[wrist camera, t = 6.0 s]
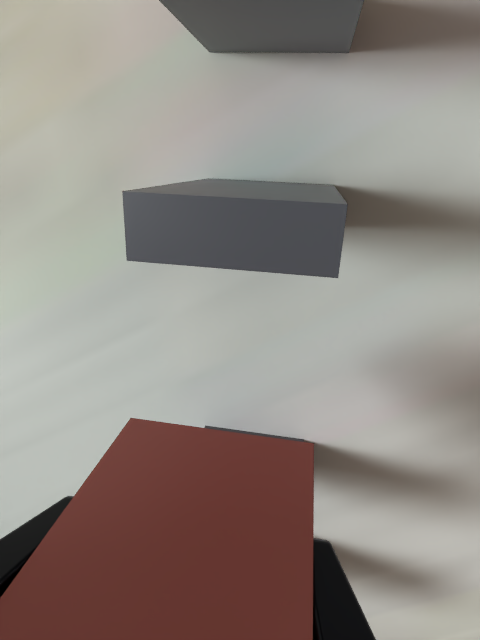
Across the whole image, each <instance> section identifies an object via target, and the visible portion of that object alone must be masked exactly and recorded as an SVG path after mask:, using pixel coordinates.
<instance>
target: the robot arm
mask: <svg viewBox="0 0 480 640" xmlns="http://www.w3.org/2000/svg"><path fill="white" fill-rule="evenodd" d="M73 497H74V496H67V497H65V498H63V499H62V500H60V501H59V502H57V503H55V504H54V505H52V506H51V507H49V508H48V509H46V510H45V511H43V512H42V513H40V514H39V515H37V516H35V517H34V518H32V519H31V520H29V521H28V522H26V523H25V524H23V525H22V526H20V527H19V528H17V529H16V530H14V531H12V532H11V533H9V534H8V535H6V536H5V537H3V538H2V539H0V598H1V596H2V595H3V594H4V592H5V591H6V589H7V588H8V587H9V585H10V584H11V583H12V581H13V580H14V578H15V577H16V576H17V574H18V573H19V572H20V570H21V569H22V567H23V566H24V565H25V563H26V562H27V560H28V559H29V558H30V556H31V555H32V554H33V552H34V551H35V549H36V548H37V547H38V545H39V544H40V543H41V541H42V540H43V538H44V537H45V536H46V534H47V533H48V532H49V530H50V529H51V527H52V526H53V525H54V523H55V522H56V520H57V519H58V518H59V516H60V515H61V514H62V512H63V511H64V509H65V508H66V507H67V505H68V504H69V503H70V501H71V500H72V498H73ZM313 640H376V639H375V637H374V635H373V633H372V630H371V628H370V626H369V624H368V622H367V620H366V618H365V615H364V613H363V611H362V609H361V607H360V605H359V603H358V600H357V598H356V596H355V594H354V592H353V590H352V588H351V585H350V583H349V581H348V579H347V577H346V575H345V573H344V570H343V568H342V566H341V564H340V562H339V560H338V558H337V555H336V553H335V551H334V549H333V547H332V545H331V543H330V542H329V541H327V540H322V539H316V538H313Z"/></svg>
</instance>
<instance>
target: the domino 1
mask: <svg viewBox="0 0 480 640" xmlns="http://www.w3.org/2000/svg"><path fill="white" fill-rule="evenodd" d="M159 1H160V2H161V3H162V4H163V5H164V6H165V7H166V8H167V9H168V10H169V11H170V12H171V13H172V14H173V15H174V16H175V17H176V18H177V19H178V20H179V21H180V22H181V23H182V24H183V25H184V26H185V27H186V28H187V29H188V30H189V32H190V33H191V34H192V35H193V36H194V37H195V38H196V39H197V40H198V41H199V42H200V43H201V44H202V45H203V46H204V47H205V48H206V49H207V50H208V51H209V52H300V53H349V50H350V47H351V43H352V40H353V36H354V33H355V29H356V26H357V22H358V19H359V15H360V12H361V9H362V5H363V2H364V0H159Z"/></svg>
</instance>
